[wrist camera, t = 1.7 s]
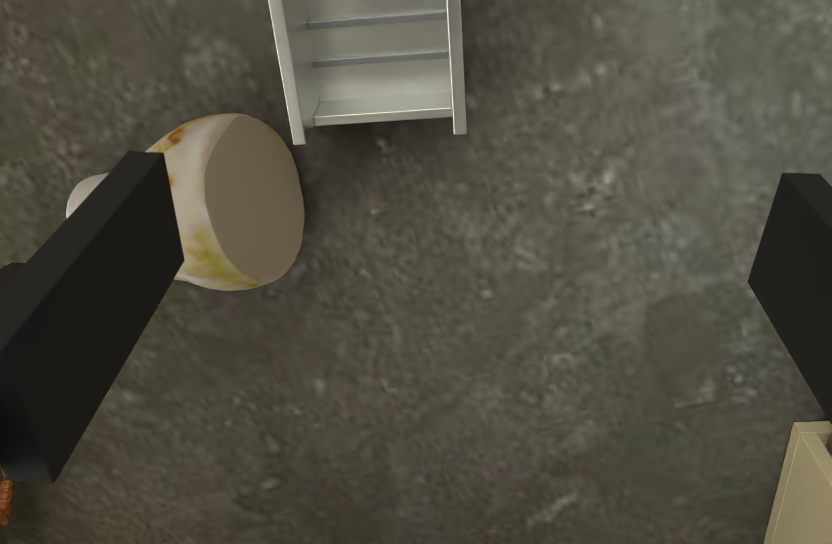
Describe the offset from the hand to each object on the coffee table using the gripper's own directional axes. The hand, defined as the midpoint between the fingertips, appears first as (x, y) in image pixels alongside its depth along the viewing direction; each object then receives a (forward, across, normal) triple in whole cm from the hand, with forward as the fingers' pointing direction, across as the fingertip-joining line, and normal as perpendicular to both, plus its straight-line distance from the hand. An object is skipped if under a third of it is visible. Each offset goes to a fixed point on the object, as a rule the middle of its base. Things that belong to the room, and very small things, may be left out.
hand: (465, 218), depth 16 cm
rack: (+16, +3, 0) cm, 16 cm away
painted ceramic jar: (+16, +12, +8) cm, 21 cm away
